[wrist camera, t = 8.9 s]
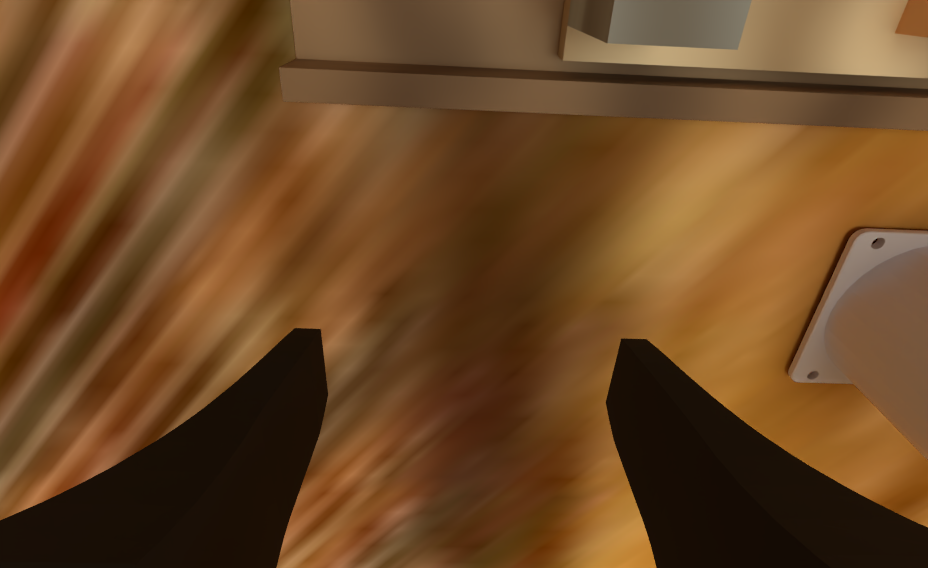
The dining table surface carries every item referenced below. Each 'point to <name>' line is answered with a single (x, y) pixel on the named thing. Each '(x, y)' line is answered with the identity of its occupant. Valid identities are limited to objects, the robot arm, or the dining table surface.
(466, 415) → the dining table surface
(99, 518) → the robot arm
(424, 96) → the lane board
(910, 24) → the orange cube
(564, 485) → the dining table surface
